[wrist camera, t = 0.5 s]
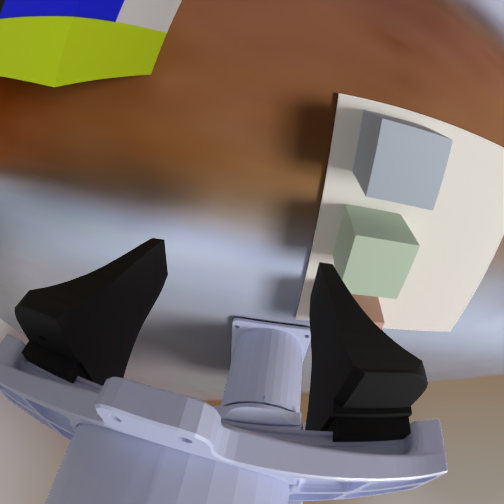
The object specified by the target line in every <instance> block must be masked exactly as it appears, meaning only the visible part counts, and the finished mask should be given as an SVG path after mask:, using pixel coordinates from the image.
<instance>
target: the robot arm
mask: <svg viewBox="0 0 504 504" xmlns="http://www.w3.org/2000/svg"><path fill="white" fill-rule="evenodd" d="M167 275H168V272H167V263H166V254H165V244H164V240H162V239H155V238H152V239H150V240H148V241H146V242H145V243H143V244H141V245H140V246H138V247H136V248H135V249H133V250H131V251H130V252H128V253H126V254H125V255H123V256H121V257H120V258H118V259H116V260H114V261H112V262H111V263H109V264H107V265H105V266H103V267H102V268H99V269H97V270H95V271H93V272H91V273H89V274H86V275H84V276H81V277H79V278H76V279H73V280H71V281H68V282H64V283H61V284H58V285H54V286H50V287H45V288H40V289H35V290H30V291H28V293H27V294H26V295H25V296H24V297H23V299H22V300H21V301H20V302H19V303H18V305H17V306H16V307H15V315H16V318H17V320H18V322H19V324H20V326H21V328H22V329H23V331H24V333H25V334H26V336H27V338H28V339H29V342H28V343H27V345H25V344H24V343H23V342H22V341H20V340H19V339H17V338H15V337H13V336H12V335H10V334H7V335H6V337H5V338H4V339H3V341H2V342H1V343H0V391H1V392H2V393H3V394H4V395H5V397H6V398H8V400H10V401H11V402H13V403H14V404H15V405H17V406H18V407H20V408H21V409H22V410H24V411H25V412H27V413H28V414H30V415H31V416H33V417H34V418H36V419H37V420H39V421H40V422H42V423H43V424H45V425H46V426H48V427H50V428H51V429H53V430H54V431H56V432H57V433H59V434H61V435H63V436H64V437H66V438H68V439H69V440H71V442H70V444H69V446H68V448H67V451H66V453H65V456H64V458H63V460H62V462H61V465H60V467H59V470H58V472H57V475H56V477H55V480H54V482H53V485H52V487H51V490H50V492H49V495H48V498H47V501H46V503H45V504H303V501H319V500H336V499H348V498H357V497H365V496H373V495H380V494H386V493H392V492H398V491H404V490H410V489H414V488H416V487H419V486H421V485H423V484H425V483H427V482H429V481H431V480H433V479H435V478H437V477H439V476H441V475H443V474H445V473H447V471H448V468H447V460H446V453H445V447H444V440H443V434H442V430H441V424H440V420H439V419H428V420H419V421H414V422H412V423H409V416H411V414H412V411H411V405H412V404H413V403H414V402H415V401H416V400H417V399H418V398H419V397H420V396H421V395H422V393H423V392H424V391H425V389H426V388H427V385H428V382H427V377H426V373H425V369H424V366H423V363H422V361H421V360H420V359H418V358H417V357H415V356H414V355H412V354H411V353H409V352H408V351H406V350H405V349H403V348H402V347H401V346H400V345H398V344H397V343H396V342H394V341H393V340H392V339H391V338H390V337H389V336H387V335H386V334H385V333H384V332H383V331H382V330H381V329H380V328H379V327H378V326H377V325H376V324H375V323H374V322H373V321H372V320H371V319H370V318H369V316H368V315H367V314H366V313H365V312H364V311H363V309H362V308H361V307H360V306H359V304H358V303H357V302H356V300H355V299H354V297H353V296H352V294H351V293H350V291H349V290H348V288H347V287H346V285H345V284H344V282H343V280H342V279H341V277H340V275H339V274H338V272H337V270H336V269H335V267H334V266H333V264H329V263H322V262H319V265H318V269H317V273H316V277H315V281H314V285H313V288H312V292H311V296H310V312H309V318H310V328H309V327H300V326H292V325H284V324H277V323H269V322H262V321H255V320H249V319H242V318H234V319H233V322H232V345H231V365H230V369H229V373H228V378H227V382H226V386H225V391H224V395H223V399H222V403H221V406H215V408H214V407H213V406H211V405H209V404H208V403H206V402H205V401H202V400H199V399H196V398H193V397H190V396H187V395H182V394H178V393H174V392H171V391H167V390H163V389H159V388H156V387H152V386H149V385H145V384H142V383H139V382H135V381H132V380H129V379H126V378H123V377H124V373H125V370H126V366H127V363H128V360H129V357H130V354H131V351H132V348H133V346H134V343H135V341H136V338H137V336H138V333H139V331H140V329H141V327H142V325H143V323H144V321H145V319H146V317H147V316H148V314H149V312H150V310H151V309H152V307H153V305H154V303H155V301H156V300H157V298H158V296H159V294H160V292H161V290H162V288H163V285H164V283H165V280H166V278H167ZM236 325H237V326H236ZM310 340H311V349H312V370H311V384H310V395H309V404H308V413H307V420H306V423H304V424H302V427H301V413H300V397H301V377H302V363H303V360H304V357H305V354H306V351H307V349H308V346H309V343H310Z"/></svg>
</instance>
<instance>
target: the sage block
mask: <svg viewBox="0 0 504 504" xmlns="http://www.w3.org/2000/svg"><path fill="white" fill-rule="evenodd" d="M419 247H420V245H419V243H418V242H417V240H416V238H415V237H414V235H413V233H412V232H411V230H410V228H409V227H408V225H407V224H406V222H405V220H404V219H403V217H402V216H401V214H398V213H393V212H388V211H383V210H377V209H372V208H366V207H361V206H355V205H349V204H345V207H344V212H343V216H342V220H341V224H340V228H339V232H338V236H337V240H336V244H335V248H334V252H333V260H334V267H335V269H336V270H337V272H338V274H339V275H340V277H341V279H342V280H343V282H344V284H345V285H346V287H347V288H348V290H349V291H350V293H351V294H356V295H365V296H374V297H383V298H392V299H397V297H398V295H399V293H400V291H401V289H402V287H403V285H404V282H405V280H406V278H407V276H408V273H409V271H410V269H411V266H412V264H413V262H414V259H415V257H416V254H417V252H418V250H419Z"/></svg>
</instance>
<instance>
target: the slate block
mask: <svg viewBox="0 0 504 504" xmlns="http://www.w3.org/2000/svg"><path fill="white" fill-rule="evenodd" d="M452 142H453V140H452V139H450V138H448V137H446V136H444V135H442V134H440V133H438V132H436V131H434V130H432V129H430V128H428V127H425V126H423V125H420V124H417V123H414V122H410V121H407V120H403V119H400V118H396V117H392V116H389V115H385V114H381V113H377V112H373V111H368V110H364V109H363V115H362V122H361V128H360V133H359V139H358V145H357V150H356V155H355V160H354V166H353V171H352V172H353V174H354V176H355V177H356V179H357V181H358V183H359V185H360V187H361V188H362V190H363V192H364V194H365V196H366V197H370V198H376V199H381V200H386V201H391V202H396V203H400V204H405V205H410V206H414V207H419V208H423V209H427V210H432V211H433V209H434V206H435V203H436V200H437V197H438V193H439V190H440V187H441V184H442V180H443V177H444V173H445V170H446V166H447V162H448V158H449V154H450V150H451V146H452Z"/></svg>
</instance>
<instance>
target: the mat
mask: <svg viewBox="0 0 504 504" xmlns="http://www.w3.org/2000/svg"><path fill="white" fill-rule="evenodd" d="M363 109H364V110H368V111H373V112H377V113H381V114H385V115H389V116H392V117H396V118H400V119H403V120H407V121H410V122H414V123H417V124H420V125H423V126H425V127H428V128H430V129H432V130H434V131H436V132H438V133H440V134H442V135H444V136H446V137H448V138H450V139H452V140H453V142H452V146H451V150H450V154H449V158H448V162H447V166H446V170H445V173H444V177H443V180H442V184H441V187H440V190H439V193H438V197H437V200H436V203H435V206H434V209H433V211H432V210H427V209H423V208H419V207H414V206H410V205H405V204H400V203H396V202H391V201H386V200H381V199H376V198H370V197H366V196H365V194H364V192H363V190H362V188H361V187H360V185H359V183H358V181H357V179H356V177H355V176H354V174H353V172H352V171H353V166H354V160H355V155H356V150H357V145H358V139H359V133H360V128H361V122H362V115H363ZM345 204H349V205H355V206H361V207H366V208H372V209H377V210H383V211H388V212H393V213H398V214H401V216H402V217H403V219H404V220H405V222H406V224H407V225H408V227H409V228H410V230H411V232H412V233H413V235H414V237H415V238H416V240H417V242H418V243H419V245H420V247H419V250H418V252H417V254H416V257H415V259H414V262H413V264H412V266H411V269H410V271H409V273H408V276H407V278H406V280H405V282H404V285H403V287H402V289H401V291H400V293H399V295H398V297H397V299H392V298H383V297H378V299H379V303H380V306H381V310H382V314H383V318H384V322H385V323H384V325H383V327H382V328H389V329H404V330H421V331H444V332H450V331H451V329H452V328H453V327H454V325H455V323H456V322H457V320H458V319H459V317H460V316H461V314H462V313H463V311H464V309H465V308H466V306H467V304H468V303H469V301H470V299H471V298H472V296H473V294H474V293H475V291H476V289H477V287H478V286H479V284H480V282H481V280H482V278H483V276H484V274H485V273H486V271H487V269H488V267H489V265H490V263H491V261H492V259H493V257H494V255H495V252H496V250H497V248H498V246H499V244H500V242H501V239H502V237H503V235H504V148H503V147H501V146H499V145H497V144H495V143H493V142H491V141H489V140H487V139H484V138H482V137H480V136H478V135H475V134H473V133H471V132H468V131H466V130H463V129H461V128H458V127H456V126H453V125H451V124H448V123H445V122H443V121H440V120H437V119H434V118H431V117H428V116H425V115H422V114H419V113H416V112H413V111H409V110H406V109H403V108H399V107H396V106H392V105H388V104H385V103H381V102H377V101H373V100H368V99H364V98H360V97H355V96H350V95H345V94H340V93H338V100H337V108H336V115H335V122H334V129H333V135H332V142H331V148H330V154H329V160H328V166H327V172H326V178H325V183H324V189H323V194H322V199H321V205H320V210H319V215H318V220H317V225H316V230H315V235H314V239H313V244H312V249H311V253H310V258H309V263H308V267H307V271H306V276H305V280H304V284H303V289H302V293H301V297H300V301H299V305H298V309H297V313H296V319H298V320H306V321H310V318H309V312H310V296H311V292H312V288H313V285H314V281H315V277H316V273H317V269H318V265H319V262H322V263H329V264H333V266H334V260H333V252H334V248H335V244H336V240H337V236H338V232H339V228H340V224H341V220H342V216H343V212H344V207H345Z"/></svg>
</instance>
